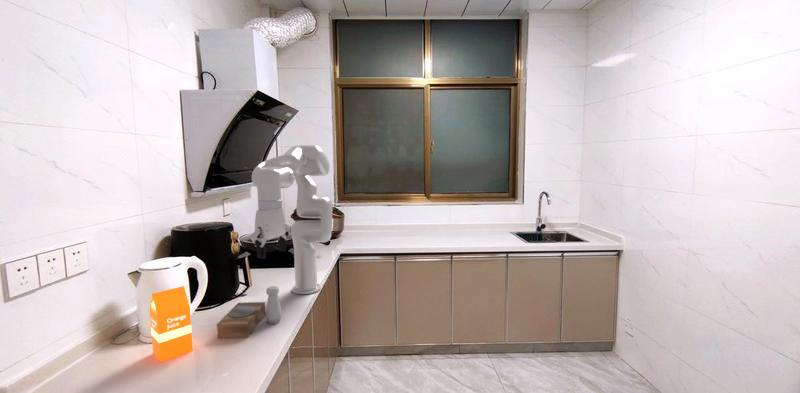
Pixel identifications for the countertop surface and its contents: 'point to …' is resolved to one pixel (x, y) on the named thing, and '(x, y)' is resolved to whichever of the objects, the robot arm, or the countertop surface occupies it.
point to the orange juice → (170, 324)
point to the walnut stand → (241, 320)
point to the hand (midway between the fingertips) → (272, 254)
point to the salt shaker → (273, 305)
